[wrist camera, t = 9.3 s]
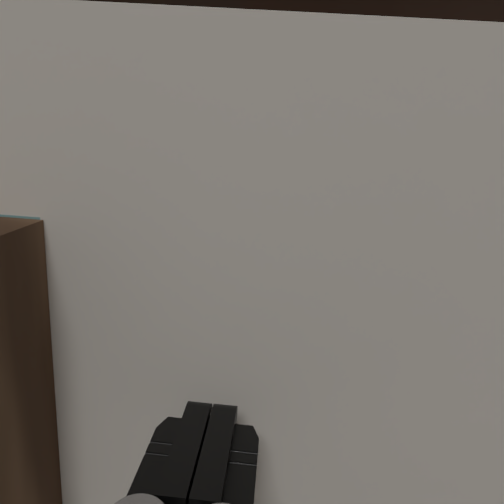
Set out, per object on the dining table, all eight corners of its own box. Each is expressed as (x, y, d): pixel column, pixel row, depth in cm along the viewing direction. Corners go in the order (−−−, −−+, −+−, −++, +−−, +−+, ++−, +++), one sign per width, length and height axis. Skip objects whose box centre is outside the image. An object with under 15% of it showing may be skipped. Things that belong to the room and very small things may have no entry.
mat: (655, 32, 11) (663, 30, 10) (467, 705, 17) (469, 713, 17) (-548, -30, 12) (-563, -33, 12) (-306, 615, 18) (-312, 620, 18)
